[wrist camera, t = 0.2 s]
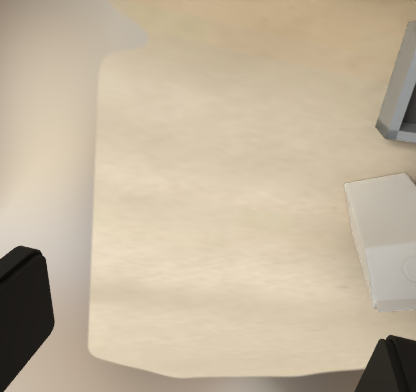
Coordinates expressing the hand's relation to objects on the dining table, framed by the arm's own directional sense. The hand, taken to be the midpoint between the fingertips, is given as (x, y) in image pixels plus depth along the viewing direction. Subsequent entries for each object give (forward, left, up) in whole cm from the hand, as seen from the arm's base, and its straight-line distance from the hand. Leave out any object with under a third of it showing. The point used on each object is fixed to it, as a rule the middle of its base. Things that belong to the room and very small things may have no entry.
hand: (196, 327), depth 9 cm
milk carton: (+11, +15, -36) cm, 41 cm away
